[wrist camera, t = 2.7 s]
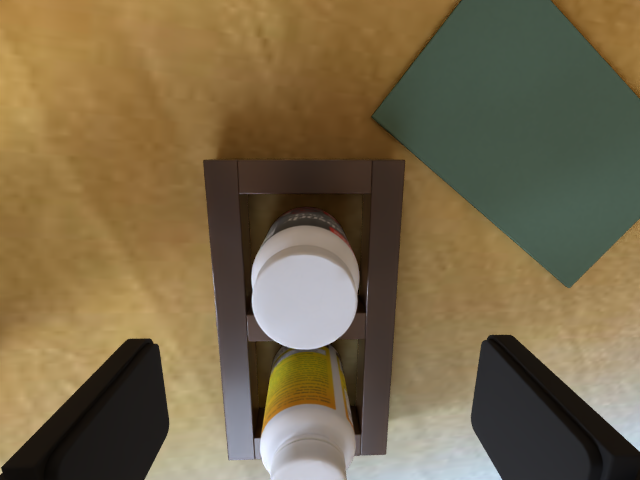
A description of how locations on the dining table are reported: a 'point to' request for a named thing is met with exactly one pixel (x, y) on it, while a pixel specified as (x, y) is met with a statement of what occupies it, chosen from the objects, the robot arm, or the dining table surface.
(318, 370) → the supplement bottle
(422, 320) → the dining table surface
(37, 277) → the dining table surface
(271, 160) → the rack
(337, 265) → the pill bottle
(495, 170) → the mat
